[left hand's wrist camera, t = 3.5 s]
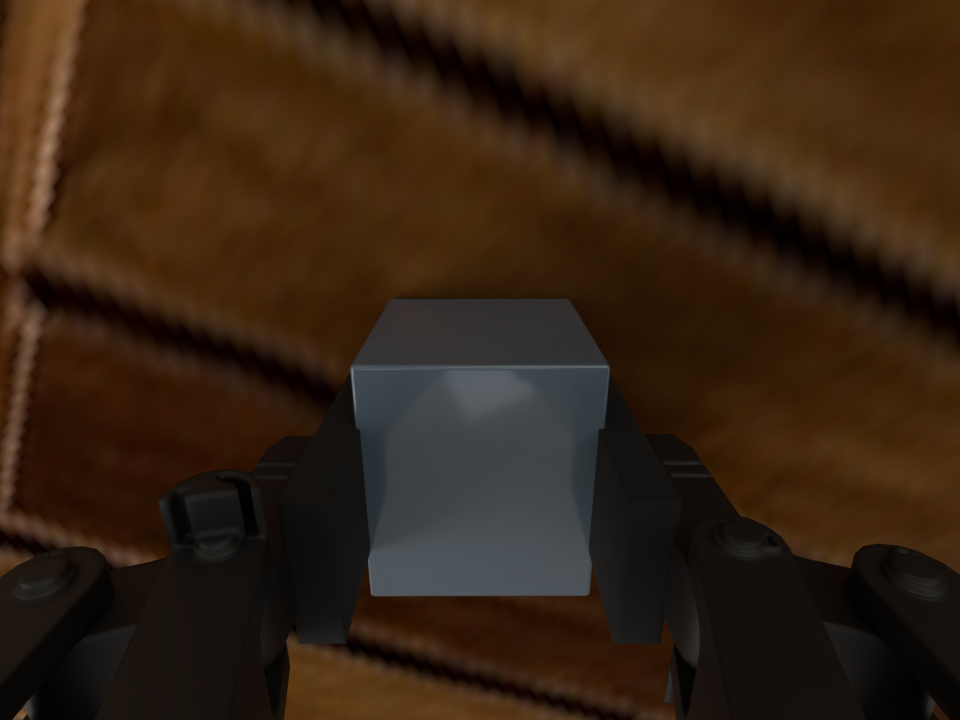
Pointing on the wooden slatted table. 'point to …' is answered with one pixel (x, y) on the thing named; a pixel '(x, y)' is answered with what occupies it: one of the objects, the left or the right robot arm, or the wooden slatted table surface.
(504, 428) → the block
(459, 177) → the wooden slatted table surface
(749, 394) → the wooden slatted table surface
